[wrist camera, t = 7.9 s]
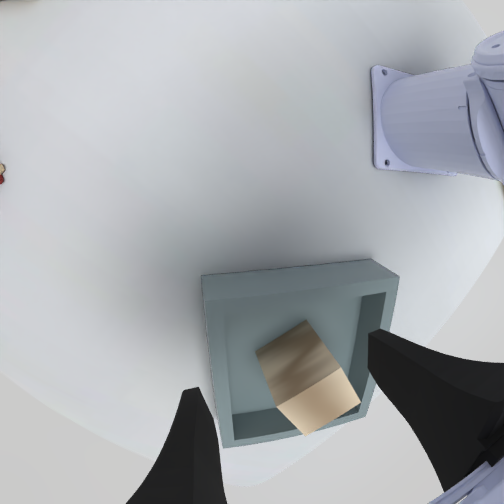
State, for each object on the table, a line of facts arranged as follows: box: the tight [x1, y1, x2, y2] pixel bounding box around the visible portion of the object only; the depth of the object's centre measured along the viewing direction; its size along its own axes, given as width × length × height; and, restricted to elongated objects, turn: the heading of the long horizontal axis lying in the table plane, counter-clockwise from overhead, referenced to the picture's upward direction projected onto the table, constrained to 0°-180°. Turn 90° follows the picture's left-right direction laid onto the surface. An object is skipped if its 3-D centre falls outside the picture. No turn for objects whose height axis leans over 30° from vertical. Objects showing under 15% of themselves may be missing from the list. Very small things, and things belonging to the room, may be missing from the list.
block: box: [255, 320, 361, 436], centre depth 20 cm, size 4×4×6 cm
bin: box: [201, 259, 400, 448], centre depth 22 cm, size 13×14×4 cm
